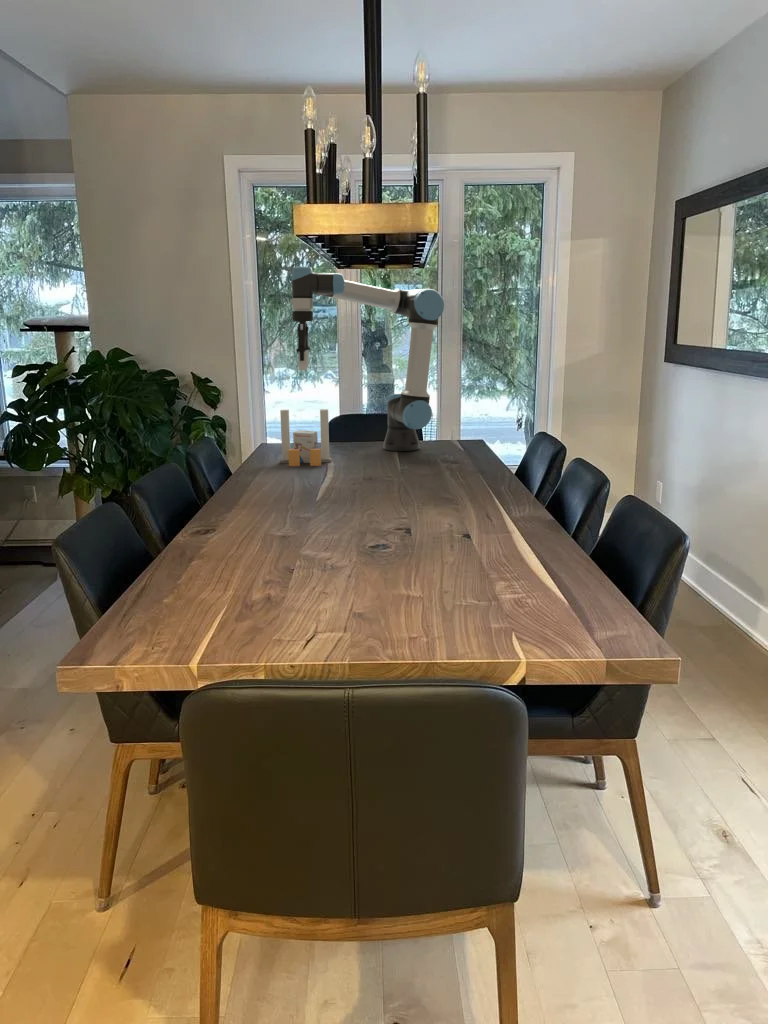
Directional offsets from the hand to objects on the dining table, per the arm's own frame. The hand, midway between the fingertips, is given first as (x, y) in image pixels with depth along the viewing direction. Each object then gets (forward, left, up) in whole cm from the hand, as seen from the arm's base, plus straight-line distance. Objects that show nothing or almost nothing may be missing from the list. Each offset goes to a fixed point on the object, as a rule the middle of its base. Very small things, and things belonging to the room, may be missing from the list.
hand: (303, 368), depth 288 cm
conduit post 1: (+8, +1, -35) cm, 36 cm away
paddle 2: (-4, +8, -35) cm, 37 cm away
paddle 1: (+4, +8, -35) cm, 37 cm away
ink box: (0, +1, -36) cm, 36 cm away
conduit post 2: (-7, +1, -35) cm, 36 cm away
